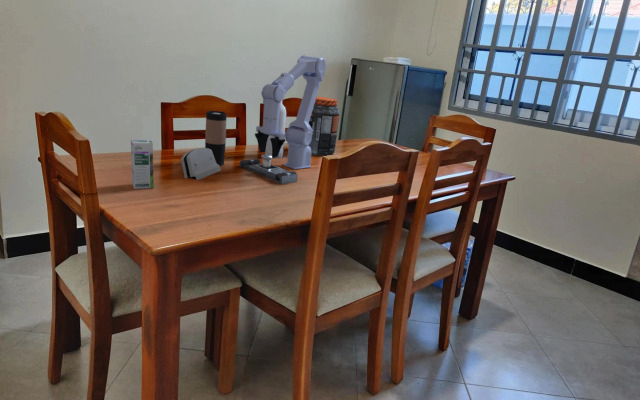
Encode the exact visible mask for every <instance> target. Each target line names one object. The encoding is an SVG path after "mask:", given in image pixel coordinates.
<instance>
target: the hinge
mask: <svg viewBox="0 0 640 400" xmlns="http://www.w3.org/2000/svg"><path fill="white" fill-rule="evenodd" d="M180 161H181V165H182V166H181V167H182V170H183V177H184V179H188V178H192V177H193V178H194V177H195V180H196V181H199V180H202V179H204V178H207V177H209V176H211V175H214V174H215V173H218V172H221V166H219V165H218V164H217V163H216V161H215V158H214V155H213V153H212V150H211V149H208V148H205V147H200V148H199V147H198V148H194V149H191V150H190V151H187V152H186V153H185V154H183V155H182V156H181V159H180Z"/></svg>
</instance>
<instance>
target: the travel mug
mask: <svg viewBox="0 0 640 400" xmlns="http://www.w3.org/2000/svg"><path fill="white" fill-rule="evenodd" d="M227 115H228V114H227V113H226V112H224V111H219V110H207V111H206V112H205V117H206V118H205V134H204V135H205V136H204V137H205V138H204V139H205V140H204V148H208V149H211V150H212V153H213V155H214V158H215V161H216V163H217V164H218V165H219V166H220V167H222V166H224V164H225V157H226V156H225V155H226V154H225V153H226V145H227V144H226V140H227V139H226V138H227Z"/></svg>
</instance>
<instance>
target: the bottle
mask: <svg viewBox="0 0 640 400" xmlns="http://www.w3.org/2000/svg"><path fill="white" fill-rule="evenodd" d="M283 101H284V99H283V100H282V101H280V114H279V127H278V131H280V132H282V133H283V134H285V133H286V122H287V121H286V119H287V108H286V106H285V105H284V104H283ZM270 138H275V137H273V136H270V135H269V137H268V140H267V144H266V150H265V152H264V154H267V155H272V144H271V140H270ZM284 144H285V142H284V143H283V145H282V147H281V149H280V151H279V154H278V157H272V159H273V158H275V159H279V158H283V156H284V155H283V154H284Z"/></svg>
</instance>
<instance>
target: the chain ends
mask: <svg viewBox="0 0 640 400" xmlns="http://www.w3.org/2000/svg"><path fill="white" fill-rule="evenodd" d="M238 166H239V167H240V168H242V169H245V170H247V171H250V172H252V173H254V174H257V175H259V176H261V177H264V178H266V179H267V180H271V181H272V182H276V184H279V185H288V184H293V183H297V182H298V175H299V174H297V172H296V171H289V170H287V169H285V168H282V167H280V166H277V165H275V164H272V163H271V167H270V169H265V168H262V163H261V160H260V159H259V158H252V159H251V158H249V159H243V160H242V159H241V160H239V164H238Z"/></svg>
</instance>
